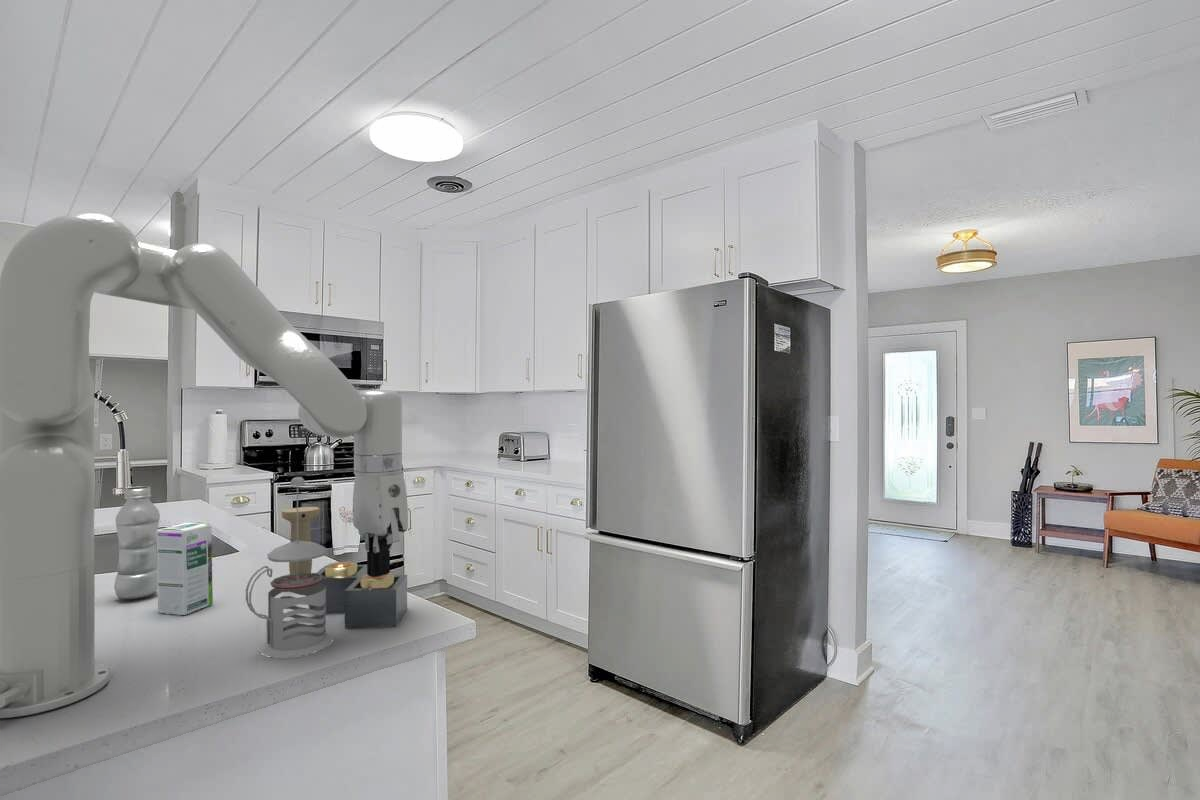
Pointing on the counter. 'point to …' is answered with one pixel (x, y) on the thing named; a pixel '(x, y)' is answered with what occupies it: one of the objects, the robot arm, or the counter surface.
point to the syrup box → (184, 568)
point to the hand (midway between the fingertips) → (378, 574)
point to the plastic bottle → (137, 545)
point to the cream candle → (341, 569)
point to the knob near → (377, 581)
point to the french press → (294, 602)
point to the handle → (300, 533)
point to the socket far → (338, 589)
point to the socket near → (375, 604)
